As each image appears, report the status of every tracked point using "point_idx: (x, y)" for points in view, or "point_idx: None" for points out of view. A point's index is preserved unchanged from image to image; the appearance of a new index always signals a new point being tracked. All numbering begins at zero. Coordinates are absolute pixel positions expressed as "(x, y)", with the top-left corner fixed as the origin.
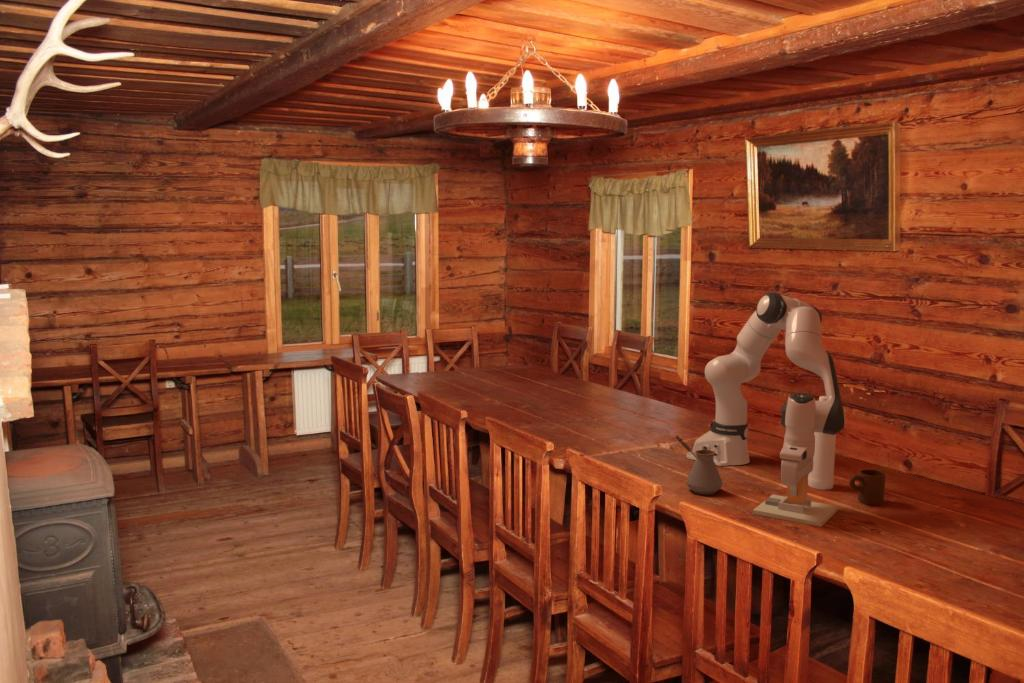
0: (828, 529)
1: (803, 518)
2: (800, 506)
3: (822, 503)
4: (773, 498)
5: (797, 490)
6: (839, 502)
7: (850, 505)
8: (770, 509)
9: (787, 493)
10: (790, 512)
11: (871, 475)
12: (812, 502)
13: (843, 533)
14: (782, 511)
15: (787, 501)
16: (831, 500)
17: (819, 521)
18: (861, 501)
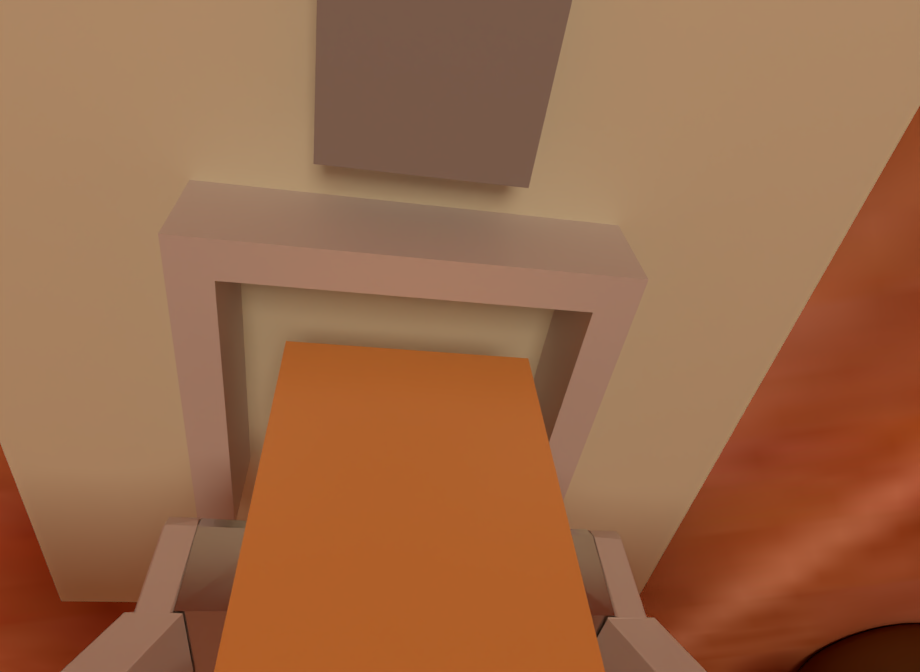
0: (64, 602)
1: (53, 485)
2: (207, 498)
3: (675, 524)
4: (539, 52)
5: (213, 667)
6: (837, 555)
7: (768, 608)
8: (72, 67)
9: (262, 454)
10: (162, 347)
11: None
12: (683, 459)
13: (62, 666)
14: (125, 255)
15: (285, 354)
16: (891, 510)
17: (88, 586)
18: (840, 652)
